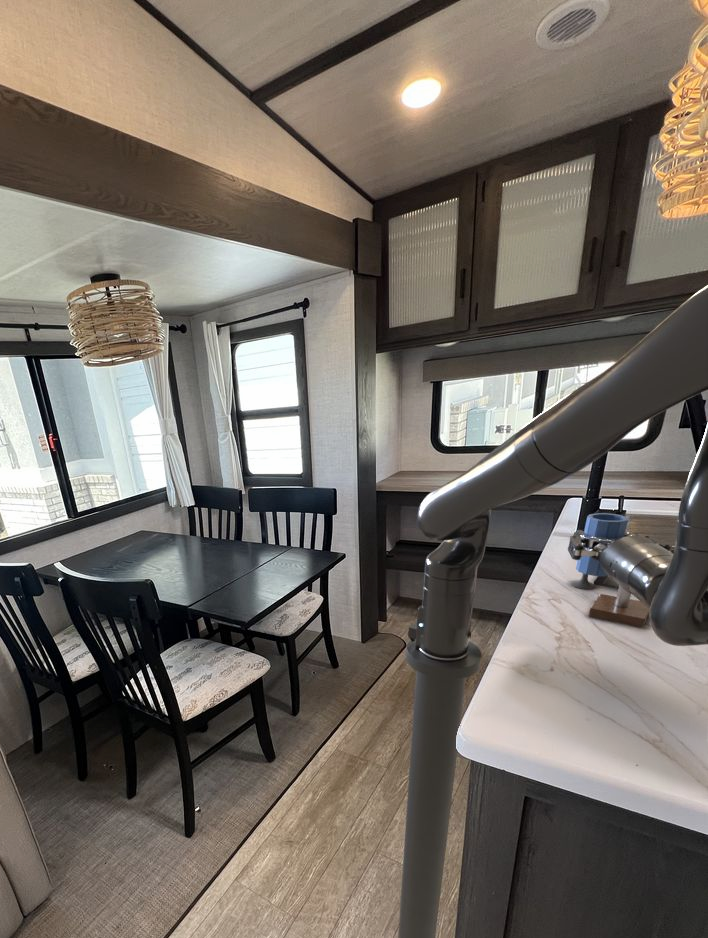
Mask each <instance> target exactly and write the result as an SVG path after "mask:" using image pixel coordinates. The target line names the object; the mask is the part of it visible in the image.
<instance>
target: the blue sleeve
mask: <svg viewBox="0 0 708 938" xmlns="http://www.w3.org/2000/svg"><path fill="white" fill-rule="evenodd" d="M629 521H630V518H629V517H628V516H626V515H622V514H618V513H617V514H616V513H606V512H601V513H600V512H599V513H590V514H588V515H587V516H586V521H585V526H584V530H583V532H584V533H586V534H587V535H588V536H591V537H594V536H600V537H604V538H607V539H615V540H617V539H620V538H622V537H625V533H627V529H628V524H629ZM599 543H601V542H599ZM588 546H589V541H588V543H587V547H588ZM575 570H576V571H577V572H579V573H581V574H582V575H583V574H587V575H588V576H593V577H598V576H608V575H607V574H606V573H605V572H604V571H603V569H602V567H601V564H600V562H599V561H597V560H594V559H593V558H592V557H591V556H583V557H582V558H581V559H580V560H578V562H577V561H576V566H575Z"/></svg>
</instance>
